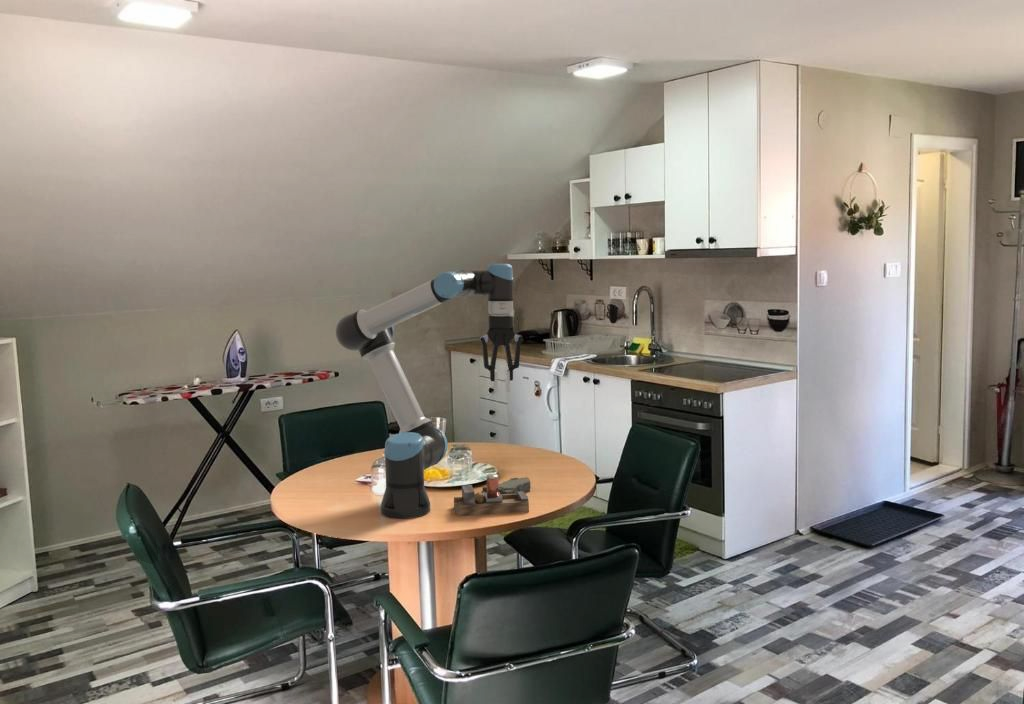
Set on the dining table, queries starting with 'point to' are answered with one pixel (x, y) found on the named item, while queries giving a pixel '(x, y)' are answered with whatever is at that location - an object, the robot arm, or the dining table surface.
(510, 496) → the board
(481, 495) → the nut
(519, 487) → the rock
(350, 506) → the dining table surface
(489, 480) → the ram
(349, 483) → the dining table surface
